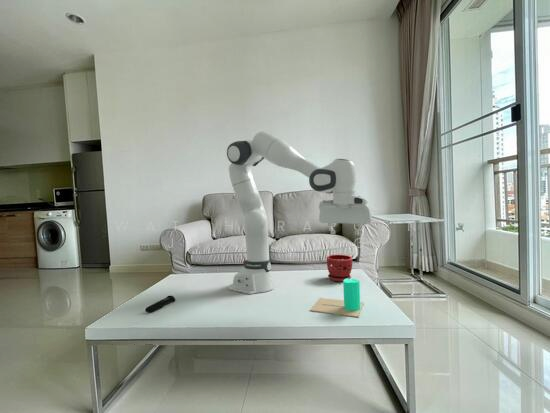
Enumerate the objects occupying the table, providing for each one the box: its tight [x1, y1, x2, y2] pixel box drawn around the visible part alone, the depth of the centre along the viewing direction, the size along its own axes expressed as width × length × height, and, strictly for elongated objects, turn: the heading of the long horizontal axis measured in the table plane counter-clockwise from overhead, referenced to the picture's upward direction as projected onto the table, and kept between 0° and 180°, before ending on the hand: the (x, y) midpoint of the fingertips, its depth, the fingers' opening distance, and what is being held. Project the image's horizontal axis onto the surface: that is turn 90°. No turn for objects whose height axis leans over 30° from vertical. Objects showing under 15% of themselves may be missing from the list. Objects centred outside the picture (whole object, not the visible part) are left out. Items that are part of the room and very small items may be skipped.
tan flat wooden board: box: [309, 297, 365, 318], centre depth 110 cm, size 18×14×1 cm
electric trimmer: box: [144, 295, 176, 313], centre depth 119 cm, size 4×16×3 cm, turn 161°
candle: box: [342, 278, 361, 311], centre depth 107 cm, size 6×6×12 cm
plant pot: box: [326, 254, 353, 283], centre depth 147 cm, size 13×13×12 cm
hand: (344, 234), depth 112 cm, fingers open, 8 cm apart
